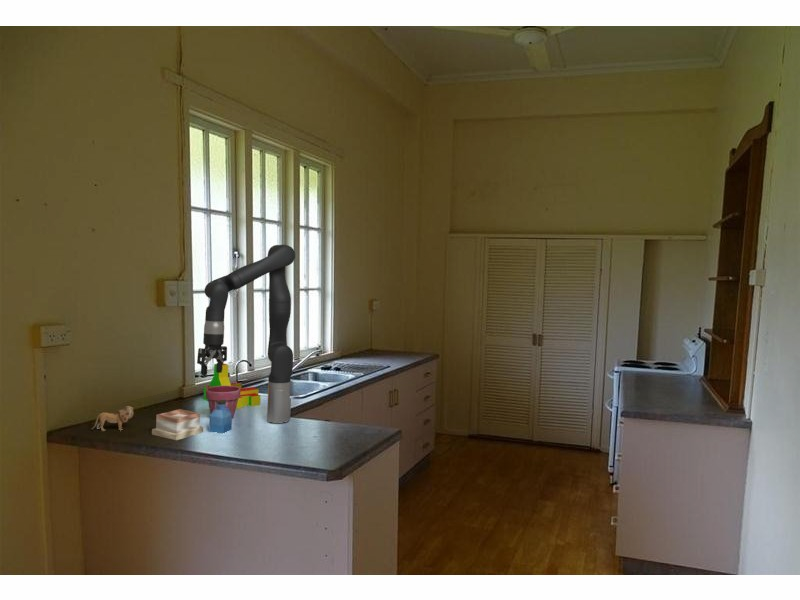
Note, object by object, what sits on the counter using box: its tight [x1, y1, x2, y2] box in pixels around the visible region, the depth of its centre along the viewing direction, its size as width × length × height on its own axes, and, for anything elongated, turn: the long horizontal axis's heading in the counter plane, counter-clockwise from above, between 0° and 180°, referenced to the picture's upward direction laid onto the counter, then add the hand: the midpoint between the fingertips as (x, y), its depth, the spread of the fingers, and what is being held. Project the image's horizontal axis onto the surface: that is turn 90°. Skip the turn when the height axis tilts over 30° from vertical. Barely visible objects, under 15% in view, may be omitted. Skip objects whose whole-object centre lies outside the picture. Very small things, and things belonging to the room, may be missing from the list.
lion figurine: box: [90, 405, 135, 432], centre depth 210 cm, size 15×5×9 cm, turn 110°
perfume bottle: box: [208, 400, 233, 434], centre depth 215 cm, size 6×6×12 cm
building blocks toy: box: [203, 362, 262, 409], centre depth 263 cm, size 19×25×18 cm
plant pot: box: [206, 386, 240, 420], centre depth 234 cm, size 14×14×13 cm
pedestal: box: [151, 408, 204, 441], centre depth 209 cm, size 13×13×8 cm
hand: (211, 373), depth 213 cm, fingers open, 8 cm apart
